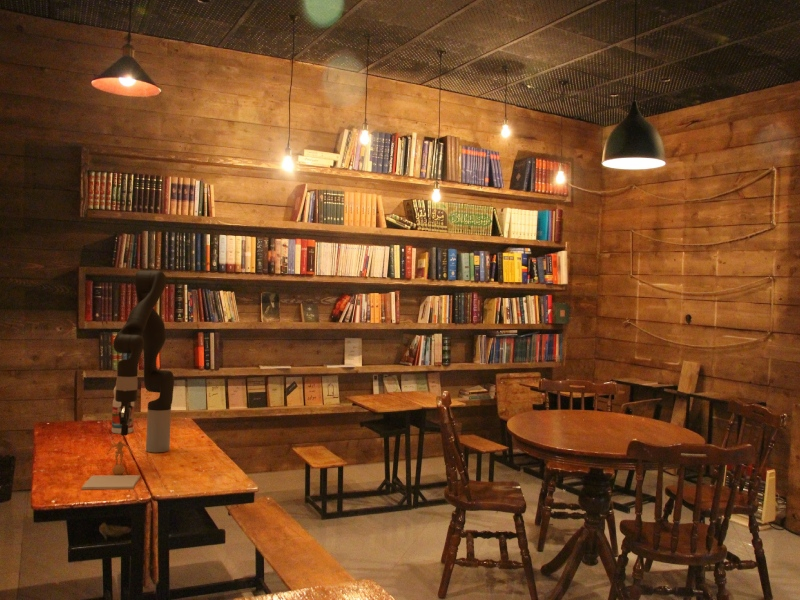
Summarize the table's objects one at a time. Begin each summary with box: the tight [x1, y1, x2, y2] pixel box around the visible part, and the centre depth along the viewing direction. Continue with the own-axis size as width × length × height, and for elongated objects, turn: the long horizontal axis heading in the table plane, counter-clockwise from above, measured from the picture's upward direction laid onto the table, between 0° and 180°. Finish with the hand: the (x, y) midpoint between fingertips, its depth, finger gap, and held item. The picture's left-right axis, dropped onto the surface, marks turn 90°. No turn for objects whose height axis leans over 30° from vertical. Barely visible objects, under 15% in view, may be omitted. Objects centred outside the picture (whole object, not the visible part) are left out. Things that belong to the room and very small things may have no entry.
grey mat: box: [80, 474, 141, 491], centre depth 243 cm, size 15×16×1 cm
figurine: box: [106, 440, 133, 475], centre depth 254 cm, size 8×6×12 cm
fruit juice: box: [111, 385, 135, 435], centre depth 330 cm, size 9×9×28 cm
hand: (124, 435), depth 264 cm, fingers closed
